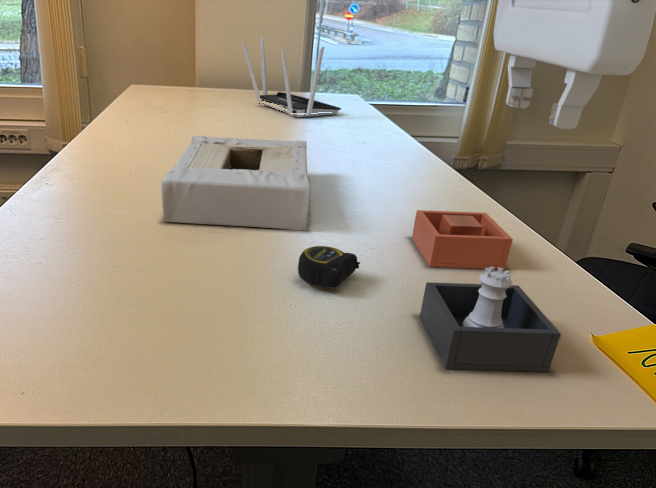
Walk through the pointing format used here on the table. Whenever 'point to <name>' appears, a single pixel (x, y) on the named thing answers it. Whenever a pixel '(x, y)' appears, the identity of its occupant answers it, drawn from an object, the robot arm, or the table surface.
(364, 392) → the table surface
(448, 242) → the terracotta bin
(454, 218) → the terracotta block
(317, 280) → the tape measure
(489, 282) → the rook chess piece
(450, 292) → the charcoal bin
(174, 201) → the box
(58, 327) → the table surface
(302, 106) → the wireless router
